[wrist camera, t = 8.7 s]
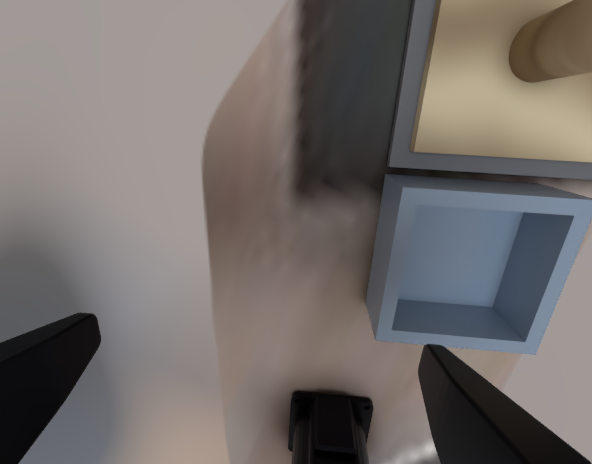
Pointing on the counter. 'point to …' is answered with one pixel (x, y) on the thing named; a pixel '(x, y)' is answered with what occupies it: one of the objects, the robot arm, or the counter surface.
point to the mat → (452, 162)
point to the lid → (508, 80)
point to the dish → (471, 261)
